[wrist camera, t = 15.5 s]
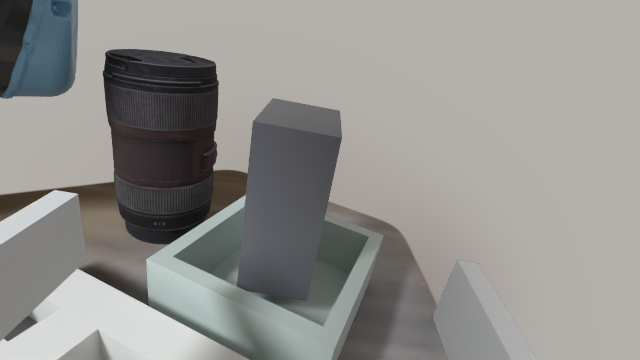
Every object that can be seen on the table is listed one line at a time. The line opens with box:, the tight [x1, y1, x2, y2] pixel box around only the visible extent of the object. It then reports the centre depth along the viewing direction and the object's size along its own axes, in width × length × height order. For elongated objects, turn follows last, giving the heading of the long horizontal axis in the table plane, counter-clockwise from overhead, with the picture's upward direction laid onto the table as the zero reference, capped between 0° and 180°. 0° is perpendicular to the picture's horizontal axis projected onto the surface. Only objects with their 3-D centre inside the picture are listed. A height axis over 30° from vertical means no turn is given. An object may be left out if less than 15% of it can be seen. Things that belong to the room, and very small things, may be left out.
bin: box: [146, 195, 384, 360], centre depth 24 cm, size 12×12×5 cm
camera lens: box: [103, 49, 219, 244], centre depth 29 cm, size 8×8×15 cm
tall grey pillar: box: [237, 98, 342, 301], centre depth 22 cm, size 4×6×13 cm
